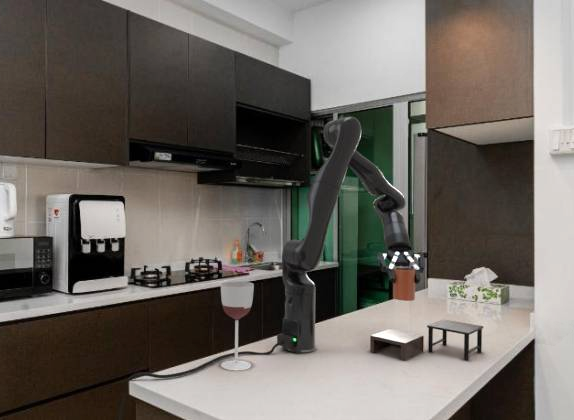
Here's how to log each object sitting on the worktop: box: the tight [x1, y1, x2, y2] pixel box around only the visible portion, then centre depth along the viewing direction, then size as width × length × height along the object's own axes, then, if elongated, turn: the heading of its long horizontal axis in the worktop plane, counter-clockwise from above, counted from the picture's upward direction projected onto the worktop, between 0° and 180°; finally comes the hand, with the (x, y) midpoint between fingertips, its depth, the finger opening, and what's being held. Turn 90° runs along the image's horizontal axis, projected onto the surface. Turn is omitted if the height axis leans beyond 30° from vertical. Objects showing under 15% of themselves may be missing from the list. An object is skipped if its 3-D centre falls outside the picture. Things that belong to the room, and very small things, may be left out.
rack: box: [426, 318, 484, 362], centre depth 143 cm, size 12×12×8 cm
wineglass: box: [220, 281, 255, 371], centre depth 129 cm, size 9×10×22 cm
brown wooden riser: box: [369, 328, 425, 361], centre depth 142 cm, size 12×11×5 cm
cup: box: [392, 267, 416, 302], centre depth 143 cm, size 6×6×9 cm
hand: (405, 281), depth 141 cm, fingers closed on cup, 6 cm apart
